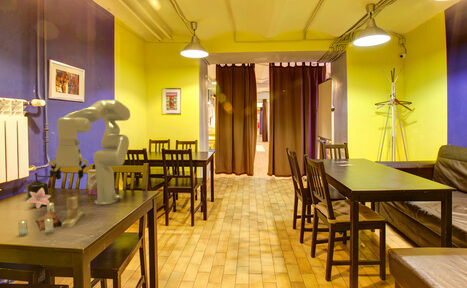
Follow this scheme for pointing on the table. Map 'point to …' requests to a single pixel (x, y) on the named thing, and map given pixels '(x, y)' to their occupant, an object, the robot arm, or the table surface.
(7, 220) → the table surface
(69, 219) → the beige t-shaped block
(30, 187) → the manual coffee grinder
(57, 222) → the sunglasses case
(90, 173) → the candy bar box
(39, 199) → the lily
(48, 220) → the light bulbs
